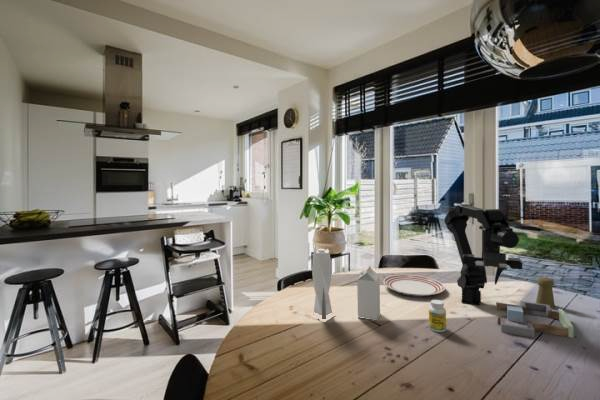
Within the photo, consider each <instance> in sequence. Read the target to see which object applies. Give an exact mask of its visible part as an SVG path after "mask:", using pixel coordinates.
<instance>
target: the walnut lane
mask: <svg viewBox="0 0 600 400" xmlns="http://www.w3.org/2000/svg"><path fill="white" fill-rule="evenodd" d="M507 305H508V306H515V307H522V306H520V305H519V304H518V305H517V304H511V303H503V302H498V301H497V302H495V308H496V309H495V310H497V311H504V312H507ZM523 307H524V309H526V308H525V306H523ZM522 310H523V309H522ZM524 311H525V310H524ZM524 311H523V312H524ZM551 311H552V312H551ZM548 312H549V313H548V314H549V315H548V317H549V318H548V317H547V318H548V319H552V320H554V319H555V320H559V312H558V311H557V310H553V309H551V310H548ZM550 314H551V315H550ZM552 314H553V315H552ZM524 315H527V314H526V313H525V314H524ZM550 316H551V318H550ZM501 318H504V319H505V316H499V315H497V325H500V326H501ZM528 321H529V320H527V324H526V328H528ZM530 322H532V324H533V327H534V330H535V332H539V333H544V334H549V335H550V334H551V335H557V336H560V337H567V338H569V337H568V332H569V329H568V328H566V327H563V326H557V325H555V324H554V325H552V324H547V323H541V322H534V321H530ZM530 322H529V323H530Z"/></svg>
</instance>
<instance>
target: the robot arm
mask: <svg viewBox="0 0 600 400" xmlns="http://www.w3.org/2000/svg"><path fill="white" fill-rule="evenodd" d="M470 218H473V219H476V220H477V223H479V224H481V225H480V226H479V227H478V229H479V230H481V257H478V256H477V257H476V256H475V254H473V251H472V248H471V245H470V242H469V239H468V236H467V233H466V229H467V227H468V223H467V222H468V221H469V219H470ZM443 221H444V224H445V226H446V228H447V230H448V231H449V232H451V234H452V235H453V238H454V240H455V244H456V247H457V252H458V254H459V258H460V262H461V265H462V266H461V269H460V277H458V279H457V280H456V283H457V287H459V288H461V300H460V301H461V303H464V304H468V305H469V304H470V305H476V306H480V303H481V302H482V296H481V295H482V292H481V290H480V289H484V288H485V285H486V284H487V283H488V277H487V270H486V267H494V268H495V274H494V275H495V276H494V285H497V283H498V281H499V278H500V276H501V274H502V273H503V272H504V271H507V270H508V266H509V267H510V268H511V269H513V270H514V269H515V270H523V261H522V260H521V258H518V257H509V256H508V258H507V254H506V253H505V252H504V253H501V247H504V248H507V249H513V248H515V247H516V246H518V244H519V242H520V238H519V236H518V235H517V233H516V232H514V229H513V228H512V227H510V223H509V221H508V220H507V218H506V215H505V214H504V213H503V211H502V209H500V208H492V209H491V208H490V209H487V208H486V209H484V208H481V207H476V206H473V205H470V204H458V205H456V206H455V207H454V208H453V209H452V210H450V211H448V212H447V214H446V215H445V216H444V220H443Z"/></svg>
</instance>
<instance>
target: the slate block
mask: <svg viewBox="0 0 600 400" xmlns="http://www.w3.org/2000/svg"><path fill="white" fill-rule="evenodd" d="M506 317H507V318H506V319H507V321H509V322H516V323H521V324H523V323H524V314H523V310H522V307H515V306H508V305H507V311H506Z"/></svg>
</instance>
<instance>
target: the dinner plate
mask: <svg viewBox="0 0 600 400" xmlns="http://www.w3.org/2000/svg"><path fill="white" fill-rule="evenodd" d="M382 284H384V286H386V287H387V288H388V289H390V290H392V291H394V292H397V293H398V294H401V293H403V294H402V295H405V294H406V295H405V296H410V295H412V296H411V297H427V296H433V295H438V294H441V293H443V292H444V291H445V290H446V286H445V285H444V284H443V283H442V282H441V281H439V280H436V279H434V278H431V277H427V276H422V275H417V274H416V275H414V274H395V275H394V274H393V275H390V276H387V277H385V278H384V279H383V283H382Z"/></svg>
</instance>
